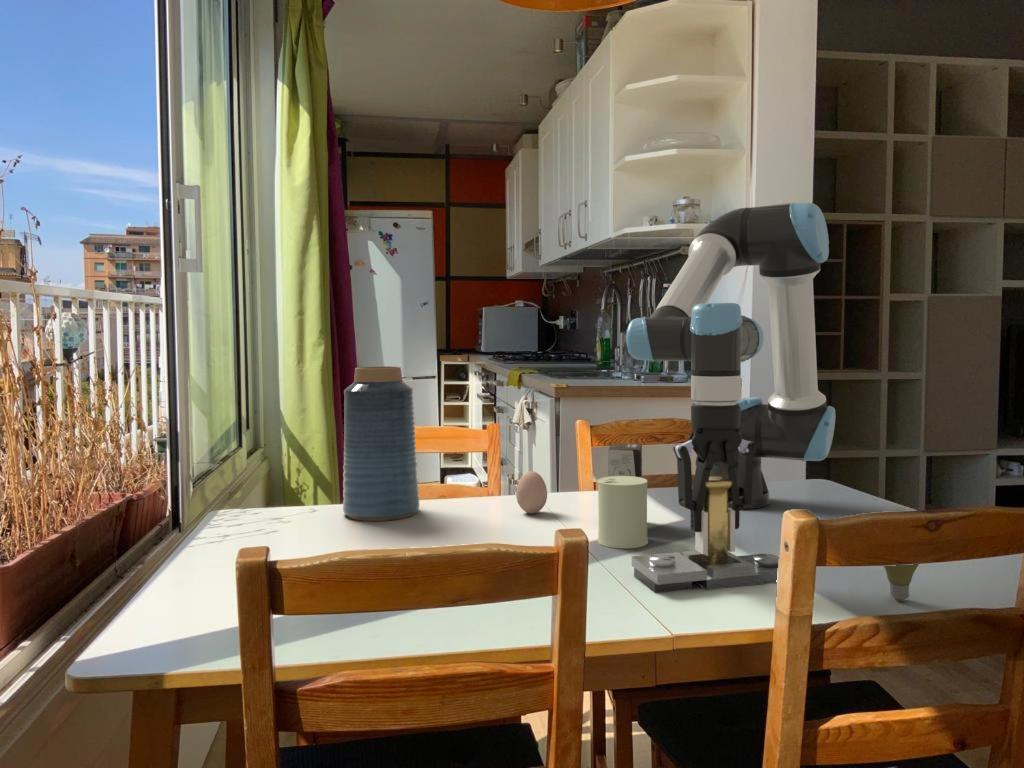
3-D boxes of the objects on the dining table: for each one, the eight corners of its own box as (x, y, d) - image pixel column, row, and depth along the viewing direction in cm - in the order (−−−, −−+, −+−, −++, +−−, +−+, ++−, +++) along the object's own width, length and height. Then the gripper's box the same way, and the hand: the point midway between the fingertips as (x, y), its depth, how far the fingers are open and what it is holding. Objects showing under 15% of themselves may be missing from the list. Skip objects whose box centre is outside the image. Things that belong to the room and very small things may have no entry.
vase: (327, 518, 172) (323, 369, 170) (369, 502, 187) (365, 365, 185) (395, 524, 166) (391, 370, 164) (432, 507, 181) (429, 365, 179)
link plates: (765, 562, 136) (766, 538, 136) (800, 580, 127) (801, 554, 126) (631, 574, 131) (631, 550, 130) (657, 594, 121) (657, 568, 121)
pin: (721, 561, 132) (722, 475, 131) (738, 570, 126) (738, 481, 126) (692, 564, 130) (692, 477, 129) (707, 573, 125) (708, 483, 124)
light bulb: (870, 594, 119) (871, 527, 119) (906, 593, 120) (907, 526, 119) (890, 608, 114) (892, 537, 113) (929, 606, 114) (930, 536, 114)
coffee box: (641, 532, 157) (640, 449, 156) (607, 531, 158) (607, 448, 157) (643, 521, 166) (642, 442, 165) (611, 520, 167) (610, 442, 166)
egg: (531, 518, 170) (530, 475, 169) (510, 513, 174) (509, 471, 174) (553, 513, 174) (553, 471, 173) (532, 508, 179) (532, 467, 178)
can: (588, 539, 153) (588, 475, 152) (631, 533, 156) (630, 471, 156) (613, 551, 144) (613, 484, 144) (657, 545, 148) (657, 479, 147)
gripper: (752, 398, 132) (751, 540, 134) (654, 402, 128) (655, 548, 130) (777, 402, 125) (776, 552, 127) (675, 406, 121) (675, 561, 123)
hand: (714, 550), depth 128 cm, fingers closed on pin, 4 cm apart
